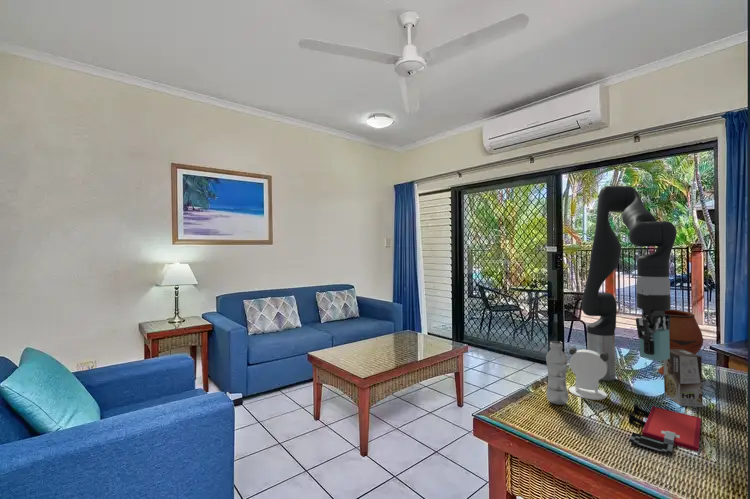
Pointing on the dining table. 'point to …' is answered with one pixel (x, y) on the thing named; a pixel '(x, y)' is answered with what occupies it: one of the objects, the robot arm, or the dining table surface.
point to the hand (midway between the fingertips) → (654, 352)
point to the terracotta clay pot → (683, 333)
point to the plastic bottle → (556, 374)
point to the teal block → (658, 346)
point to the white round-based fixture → (588, 373)
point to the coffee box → (683, 378)
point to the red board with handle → (666, 429)
